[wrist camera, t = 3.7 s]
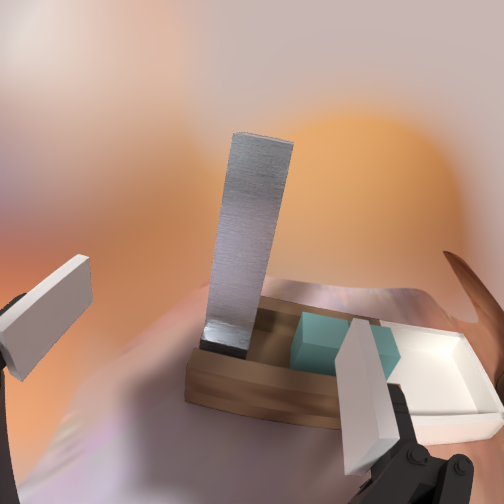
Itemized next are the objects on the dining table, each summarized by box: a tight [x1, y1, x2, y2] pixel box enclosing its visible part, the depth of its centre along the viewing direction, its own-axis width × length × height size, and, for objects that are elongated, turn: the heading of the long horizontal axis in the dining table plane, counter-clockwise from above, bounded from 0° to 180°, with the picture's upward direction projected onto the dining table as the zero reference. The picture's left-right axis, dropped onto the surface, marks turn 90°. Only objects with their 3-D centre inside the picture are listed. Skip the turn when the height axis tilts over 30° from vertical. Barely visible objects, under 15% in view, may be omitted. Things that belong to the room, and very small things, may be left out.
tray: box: [379, 320, 504, 446], centre depth 25 cm, size 13×14×3 cm
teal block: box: [290, 312, 349, 377], centre depth 24 cm, size 4×4×4 cm
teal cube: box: [348, 321, 401, 381], centre depth 24 cm, size 4×4×4 cm
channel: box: [185, 296, 402, 430], centre depth 25 cm, size 16×11×4 cm
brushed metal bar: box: [199, 132, 293, 360], centre depth 22 cm, size 4×6×17 cm, turn 172°
